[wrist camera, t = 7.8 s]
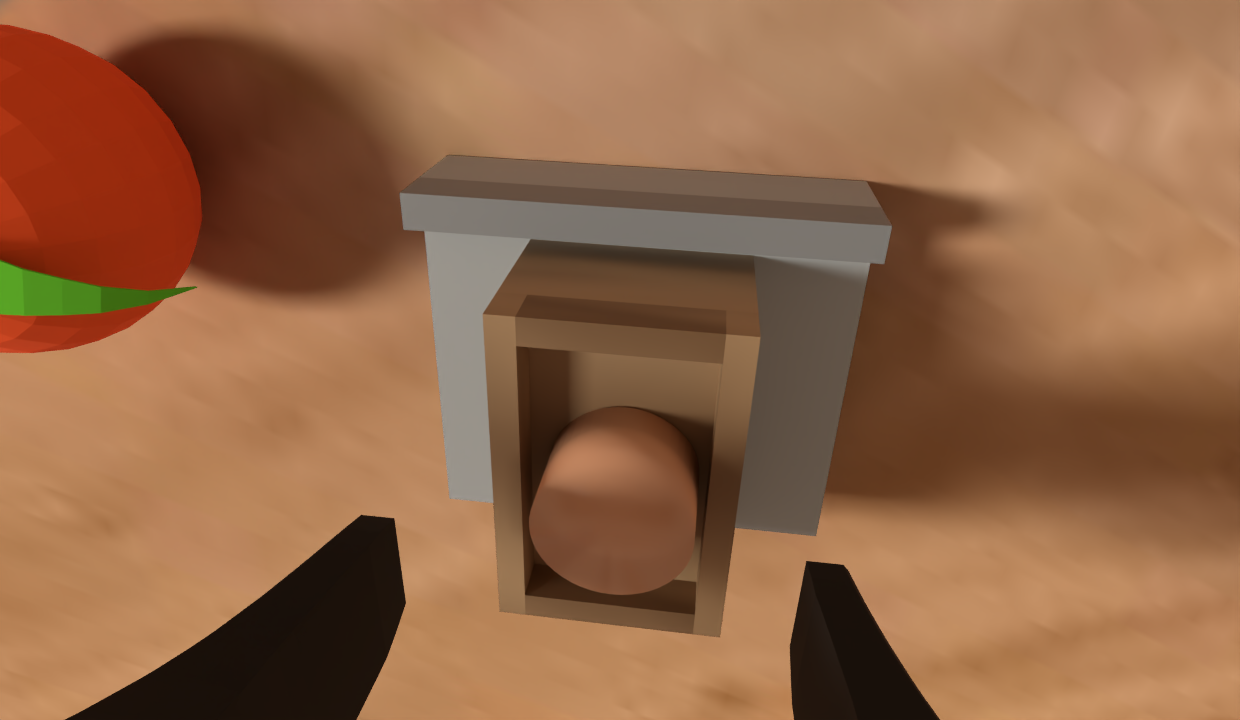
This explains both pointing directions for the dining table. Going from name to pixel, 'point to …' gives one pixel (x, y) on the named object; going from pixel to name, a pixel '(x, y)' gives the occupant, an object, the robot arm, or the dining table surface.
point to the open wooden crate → (620, 404)
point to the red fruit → (85, 197)
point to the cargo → (617, 502)
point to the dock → (679, 220)
